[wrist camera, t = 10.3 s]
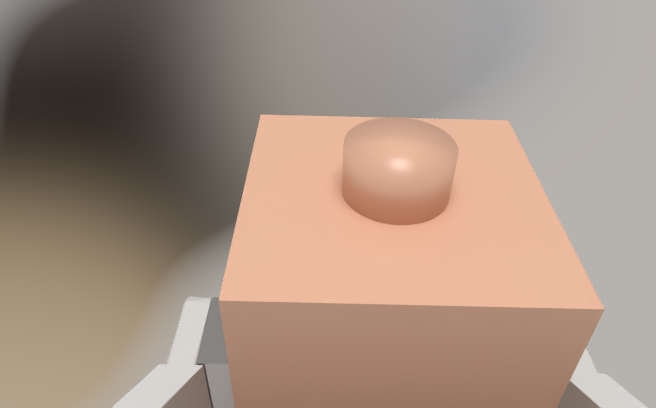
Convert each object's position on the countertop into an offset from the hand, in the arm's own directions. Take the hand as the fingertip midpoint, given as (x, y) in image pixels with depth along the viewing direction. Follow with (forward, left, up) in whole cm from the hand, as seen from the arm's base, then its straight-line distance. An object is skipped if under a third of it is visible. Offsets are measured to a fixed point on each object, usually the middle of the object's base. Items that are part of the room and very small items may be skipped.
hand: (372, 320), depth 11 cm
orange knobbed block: (0, +1, -5) cm, 5 cm away
